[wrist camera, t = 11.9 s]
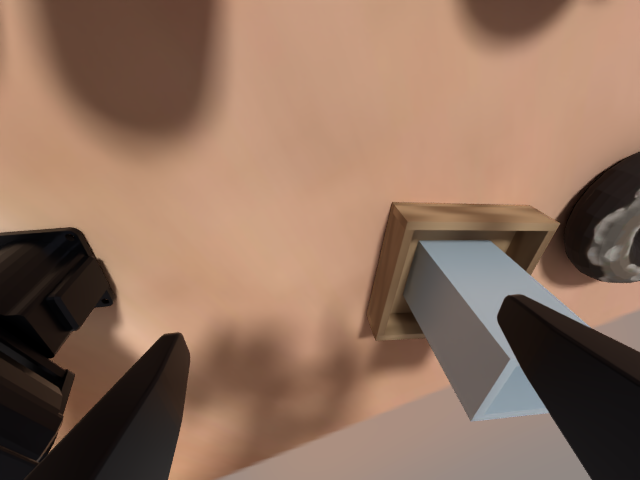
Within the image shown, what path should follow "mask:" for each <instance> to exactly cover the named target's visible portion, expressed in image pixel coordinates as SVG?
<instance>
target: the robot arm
mask: <svg viewBox="0 0 640 480" xmlns="http://www.w3.org/2000/svg"><path fill="white" fill-rule="evenodd" d="M69 234H71V235H73V236H74V237H71V236H70V235H69ZM106 299H108V300H106ZM114 301H115V296H114V294H113V292H112V290H111V288H110V286H109V283H108V281H107V279H106V278H105V276H104V274H103V272H102V270H101V268H100V266H99V264H98V262H97V260H96V259H95V258H94V256H93V254H92V252H91V250H90V248H89V246H88V244H87V242H86V241H85V239H84V237H83V235H82V233H81V232H80V231H79V230H78V229H76V228H71V227H68V228H55V229H43V230H30V231H17V232H4V233H0V480H168V477H169V473H170V469H171V465H172V461H173V457H174V452H175V448H176V444H177V440H178V436H179V432H180V427H181V423H182V417H183V410H184V403H185V395H186V388H187V380H188V373H189V365H190V353H189V350H188V347H187V345H186V342H185V340H184V337H183V335H182V334H181V333H179V332H177V333H168V334H164V335H163V336H161V337H160V338H159V339H158V340H157V341H156V342H155V343H154V344H153V345H152V347H151V348H150V349H149V350H148V351H147V352H146V353H145V354H144V355H143V356H142V357H141V358H140V359H139V360H138V361H137V362H136V363H135V364H134V365H133V366H132V367H131V368H130V369H129V370H128V371H127V373H126V374H125V375H124V376H123V377H122V378H121V379H120V380H119V381H118V382H117V383H116V384H115V385H114V386H113V387H112V388H111V389H110V390H109V391H108V392H107V393H106V394H105V395H104V396H103V397H102V399H101V400H100V401H99V402H98V403H97V404H96V405H95V406H94V407H93V408H92V409H91V410H90V411H89V412H88V413H87V414H86V415H85V416H84V417H83V418H82V419H81V420H80V421H79V422H78V423H77V424H76V426H75V427H74V428H73V429H72V430H71V431H70V432H69V433H68V434H67V435H66V436H65V437H64V438H63V439H62V440H61V441H60V442H59V443H58V444H57V445H56V446H55V447H54V448H53V449H52V450H51V452H50V453H49V451H50V449H51V447H52V446H53V444H54V441H55V439H56V436H57V434H58V431H59V429H60V427H61V425H62V422H63V417H64V416H63V414H64V410H65V407H66V404H67V400H68V397H69V394H70V390H71V387H72V383H73V380H74V377H75V374H74V373H72V372H71V371H69V370H68V369H66V370H64V369H63V368H61V367H60V366H58V365H57V364H55V363H54V362H52V361H51V360H50V359H48V358H53V357H54V356H55V355H56V353H57V352H58V350H59V349H60V348H61V346H62V345H63V343H64V342H65V341H66V339H67V338H68V337H69V335H70V334H71V332H72V331H77V330H78V329H79V328H80V327H81V325H82V324H83V323H84V321H85V320H86V318H87V317H88V316H89V314H90V313H91V311H92V310H93V308H95V307H105V306H111V305H112V304H113V302H114ZM497 321H498V324H499V326H500V328H501V330H502V332H503V334H504V336H505V338H506V340H507V342H508V344H509V346H510V347H511V349H512V351H513V353H514V355H515V357H516V359H517V361H518V363H519V365H520V367H521V369H522V370H523V372H524V374H525V376H526V377H527V379H528V381H529V382H530V384H531V385H532V387H533V388H534V390H535V392H536V393H537V395H538V396H539V398H540V399H541V401H542V402H543V404H544V406H545V407H546V409H547V410H548V412H549V413H550V415H551V417H552V418H553V420H554V421H555V423H556V424H557V426H558V428H559V429H560V431H561V432H562V434H563V435H564V437H565V439H566V440H567V442H568V443H569V445H570V446H571V448H572V449H573V451H574V453H575V454H576V456H577V457H578V459H579V460H580V462H581V464H582V465H583V467H584V468H585V470H586V471H587V473H588V475H589V476H590V478H591V479H592V480H640V352H638V351H636V350H634V349H632V348H630V347H628V346H626V345H624V344H622V343H620V342H618V341H616V340H614V339H612V338H610V337H608V336H606V335H604V334H602V333H600V332H598V331H596V330H594V329H592V328H590V327H588V326H586V325H584V324H582V323H580V322H578V321H575V320H573V319H571V318H569V317H567V316H565V315H563V314H561V313H559V312H557V311H555V310H553V309H551V308H549V307H547V306H545V305H543V304H541V303H539V302H537V301H535V300H533V299H531V298H529V297H527V296H525V295H522V294H515V295H508V296H506V297H505V298H504V300H503V302H502V305H501V307H500V309H499V312H498V314H497ZM48 453H49V454H48ZM47 454H48V455H47Z"/></svg>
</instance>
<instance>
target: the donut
mask: <svg viewBox="0 0 640 480" xmlns="http://www.w3.org/2000/svg"><path fill="white" fill-rule="evenodd" d="M564 244H565V250H566V254H567V256H568V258H569V259H570V261H571V262H572V263H573V264H574V266H575V267H576V268H577V269H578V270H579V271H580V272H582V273H584V274H586V275H588V276H590V277H592V278H595V279H597V280H599V281H604V282H611V283H632V282H637V281H640V152H638V153H636V154H633V155H631V156H629V157H627V158H626V159H624V160H623V161H621V162H619V163H618V164H616V165H615V166H613V167H612V168H610V169H609V170H607V171H606V172H605V173H604V174H603V175H602V176H601V177H600V178H598V179H597V180H596V181H595V182H594V183H593V184H592V185H591V186H590V187H589V188H588V189H587V190H586V192H585V193H584V194H583V196H582V197H581V198H580V199H579V201H578V202H577V203H576V205H575V207H574V209H573V211H572V213H571V215H570V217H569V219H568V221H567V225H566V230H565V235H564Z"/></svg>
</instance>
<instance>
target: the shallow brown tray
mask: <svg viewBox="0 0 640 480" xmlns="http://www.w3.org/2000/svg"><path fill="white" fill-rule="evenodd" d="M559 225H560V223H559V222H557V221H555V220H554V219H552V218H550V217H549V216H547V215H545V214H544V213H542V212H540V211H539V210H537V209H535V208H534V207H532V206H530V205H490V204H445V203H399V202H392V206H391V210H390V214H389V219H388V223H387V228H386V232H385V236H384V241H383V245H382V249H381V254H380V258H379V262H378V267H377V271H376V276H375V280H374V284H373V289H372V293H371V297H370V302H369V306H368V310H367V318H368V321H369V323H370V326H371V329H372V332H373V335H374V338H375V340H376V341H382V340H400V339H419V338H426V337H425V335H424V333H423V331H422V330H421V328H420V326H419V324H418V322H417V320H416V318H415V316H414V315H413V313H412V311H411V309H410V307H409V305H408V303H407V302H406V300H405V298H404V296H403V292H404V289H405V285H406V282H407V279H408V275H409V272H410V268H411V265H412V261H413V258H414V254H415V251H416V248H417V244H418V241H419V240H490V241H491V242H492V243H494V244H495V245H496V246H497V247H498V248H499V249H501V250H502V251H503V252H504V253H505V254H506V255H507V256H509V257H510V258H511V259H512V260H513V261H514V262H516V263H517V264H518V265H519V266H520V267H521V268H523V269H524V270H525V271H526V272H527V273H528V274H529V275H531V274H532V272H533V270H534V268H535V267H536V265H537V263H538V261H539V260H540V258H541V256H542V254H543V253H544V251H545V249H546V248H547V246H548V244H549V242H550V241H551V239H552V237H553V235H554V234H555V232H556V230H557V228H558V227H559Z"/></svg>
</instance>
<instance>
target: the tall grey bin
mask: <svg viewBox="0 0 640 480" xmlns="http://www.w3.org/2000/svg"><path fill="white" fill-rule="evenodd" d="M515 294H522V295H525V296H527V297H529V298H531V299H533V300H535V301H537V302H539V303H541V304H543V305H545V306H547V307H549V308H551V309H553V310H555V311H557V312H559V313H561V314H563V315H565V316H567V317H569V318H571V319H573V320H575V321H578V322H580V323H582V324H584V325H586V326H588V325H587V324H586V323H585V322H584V321H583V320H581V319H580V318H579V317H578V316H577V315H576V314H574V313H573V312H572V311H571V310H570V309H569V308H568V307H566V306H565V305H564V304H563V303H562V302H561V301H559V300H558V299H557V298H556V297H555V296H554V295H553V294H551V293H550V292H549V291H548V290H547V289H546V288H544V287H543V286H542V285H541V284H540V283H539V282H538V281H536V280H535V279H534V278H533V277H532V276H531V275H529V274H528V273H527V272H526V271H525V270H524V269H523V268H521V267H520V266H519V265H518V264H517V263H516V262H514V261H513V260H512V259H511V258H510V257H509V256H507V255H506V254H505V253H504V252H503V251H502V250H501V249H499V248H498V247H497V246H496V245H495V244H494V243H492V242H491V241H490V240H419V241H418V244H417V248H416V251H415V254H414V258H413V261H412V265H411V268H410V272H409V275H408V279H407V282H406V285H405V289H404V292H403V296H404V298H405V300H406V302H407V303H408V305H409V307H410V309H411V311H412V313H413V315H414V316H415V318H416V320H417V322H418V324H419V326H420V328H421V330H422V331H423V333H424V335H425V337H426V339H427V341H428V343H429V344H430V346H431V348H432V350H433V352H434V354H435V356H436V358H437V359H438V361H439V363H440V365H441V367H442V369H443V371H444V373H445V374H446V376H447V378H448V380H449V382H450V384H451V386H452V387H453V389H454V391H455V393H456V394H457V397H458V399H459V400H460V402H461V404H462V406H463V408H464V410H465V412H466V414H467V415H468V417H469V419H470V421H478V420H488V419H498V418H507V417H516V416H526V415H535V414H544V413H549V412H548V410H547V409H546V407H545V406H544V404H543V402H542V401H541V399H540V398H539V396H538V395H537V393H536V392H535V390H534V388H533V387H532V385H531V384H530V382H529V381H528V379H527V377H526V376H525V374H524V372H523V370H522V369H521V367H520V365H519V363H518V361H517V359H516V357H515V355H514V353H513V351H512V349H511V347H510V346H509V344H508V342H507V340H506V338H505V336H504V334H503V332H502V330H501V328H500V326H499V324H498V321H497V314H498V312H499V309H500V307H501V305H502V302H503V300H504V298H505V297H506V296H508V295H515ZM588 327H589V326H588ZM590 328H591V327H590Z"/></svg>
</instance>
